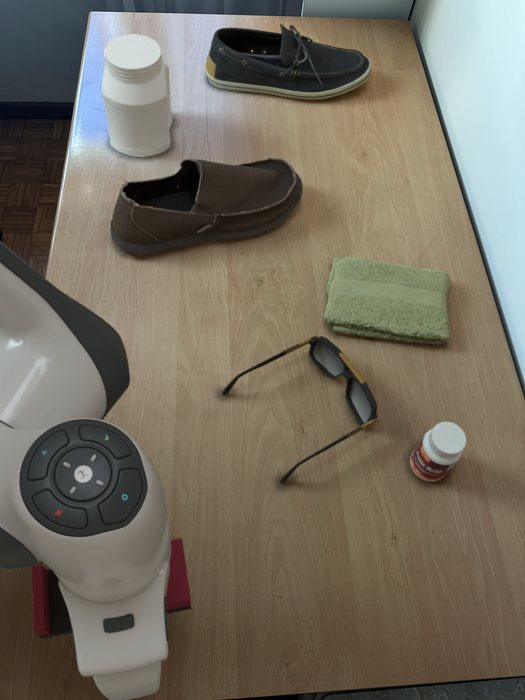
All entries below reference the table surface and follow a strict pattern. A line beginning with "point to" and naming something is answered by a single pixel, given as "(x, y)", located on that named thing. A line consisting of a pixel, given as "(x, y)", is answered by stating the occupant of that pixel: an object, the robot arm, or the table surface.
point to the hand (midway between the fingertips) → (129, 585)
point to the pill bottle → (438, 451)
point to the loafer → (204, 205)
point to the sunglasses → (332, 366)
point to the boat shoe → (283, 64)
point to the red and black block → (53, 609)
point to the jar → (137, 96)
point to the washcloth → (388, 301)
